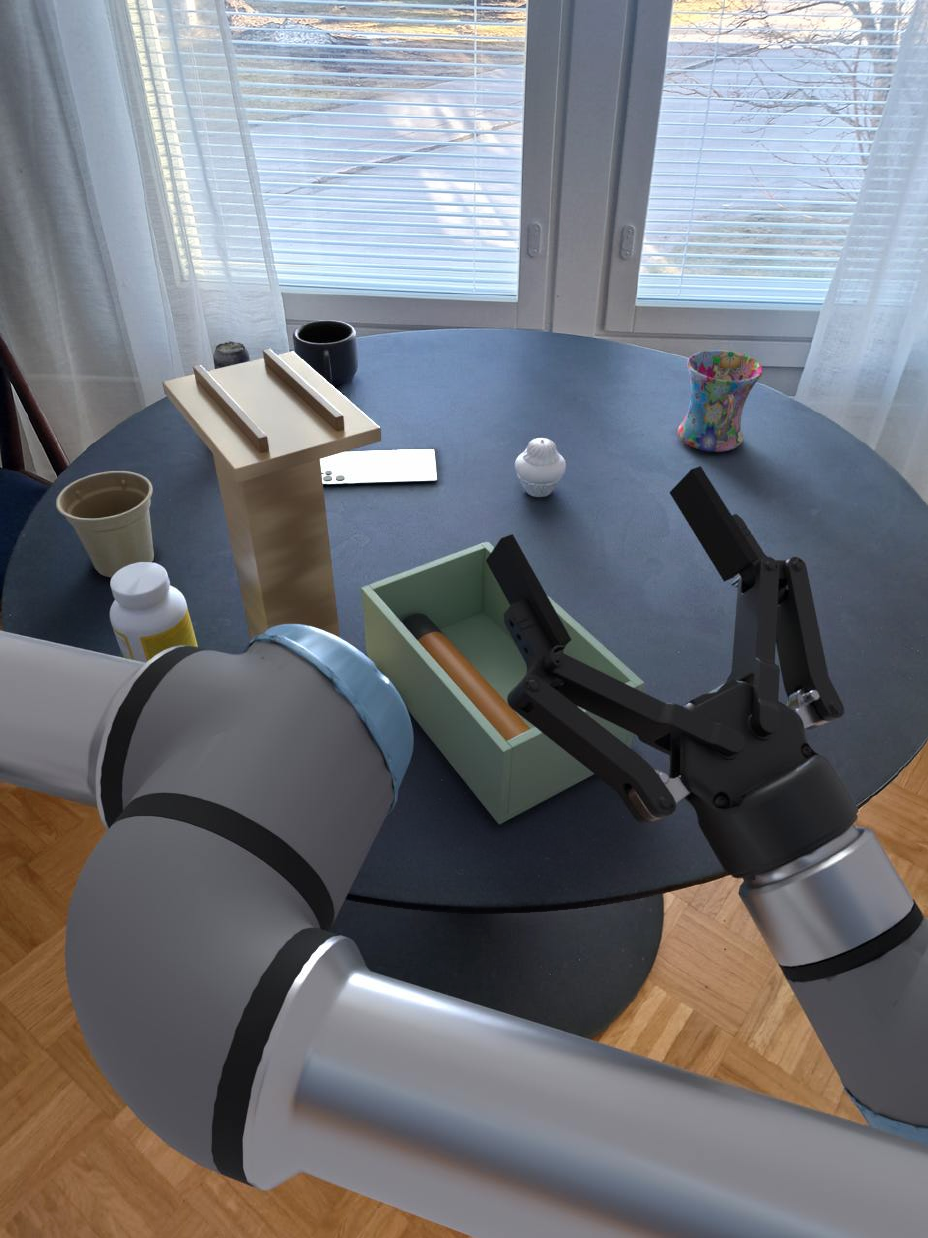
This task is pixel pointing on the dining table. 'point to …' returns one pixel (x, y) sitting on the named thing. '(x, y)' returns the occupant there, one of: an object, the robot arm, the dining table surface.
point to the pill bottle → (148, 612)
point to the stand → (275, 478)
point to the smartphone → (379, 467)
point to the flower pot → (110, 518)
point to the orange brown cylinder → (466, 677)
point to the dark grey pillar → (230, 354)
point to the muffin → (540, 467)
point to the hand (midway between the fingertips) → (596, 510)
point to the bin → (474, 624)
